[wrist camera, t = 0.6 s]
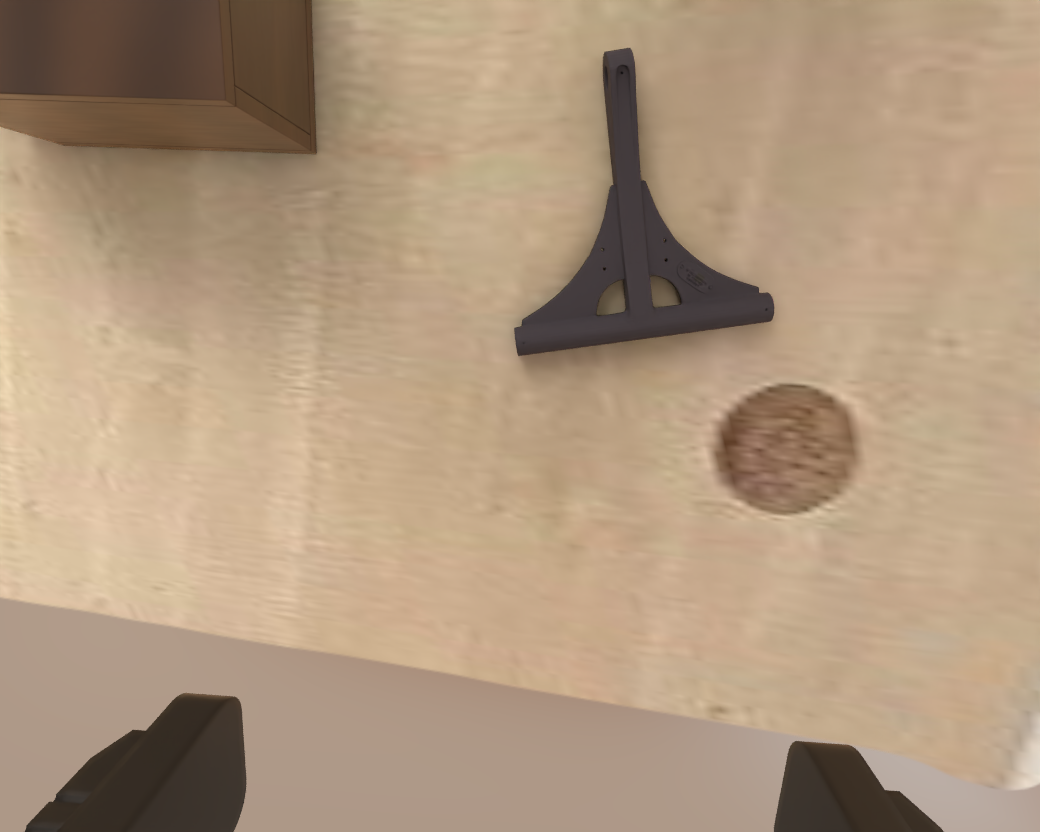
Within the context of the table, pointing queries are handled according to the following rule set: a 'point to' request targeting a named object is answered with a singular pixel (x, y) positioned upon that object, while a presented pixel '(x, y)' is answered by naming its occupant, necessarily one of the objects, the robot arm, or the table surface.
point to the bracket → (636, 257)
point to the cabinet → (160, 73)
